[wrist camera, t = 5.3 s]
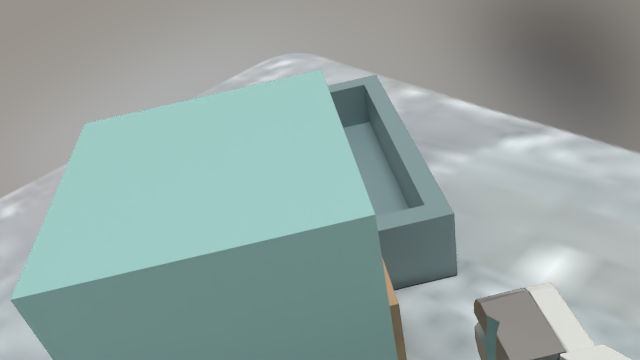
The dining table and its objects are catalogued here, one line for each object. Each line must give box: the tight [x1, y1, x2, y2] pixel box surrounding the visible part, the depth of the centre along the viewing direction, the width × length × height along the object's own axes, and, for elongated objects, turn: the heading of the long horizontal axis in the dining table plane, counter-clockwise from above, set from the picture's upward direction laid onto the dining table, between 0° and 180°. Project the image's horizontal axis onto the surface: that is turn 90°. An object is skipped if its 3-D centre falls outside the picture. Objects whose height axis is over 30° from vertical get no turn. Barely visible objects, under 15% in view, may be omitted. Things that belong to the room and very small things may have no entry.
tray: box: [328, 75, 457, 290], centre depth 25 cm, size 12×12×3 cm
